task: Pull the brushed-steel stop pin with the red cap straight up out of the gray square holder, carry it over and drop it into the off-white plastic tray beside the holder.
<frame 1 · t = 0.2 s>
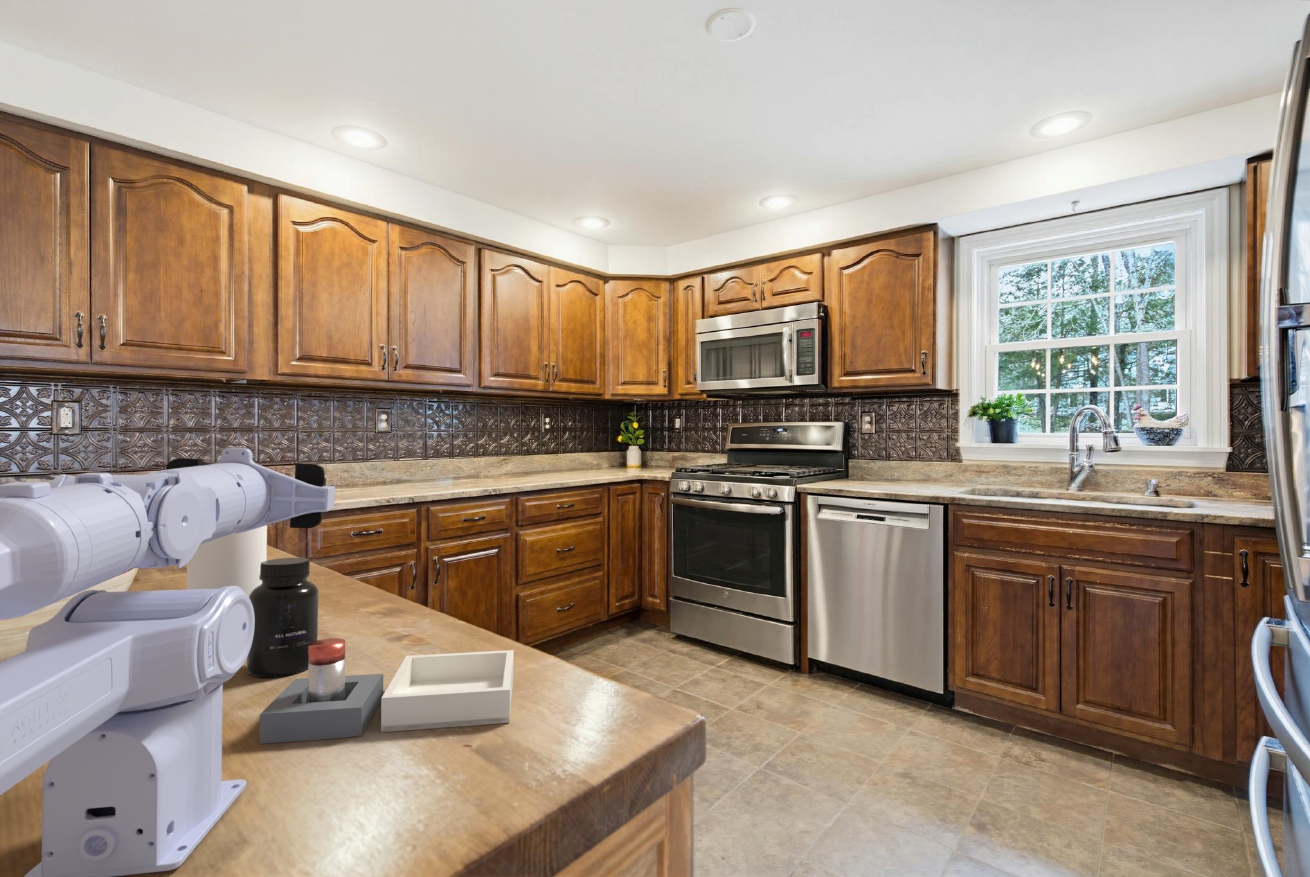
hand: (279, 486, 61), 21 cm above the countertop, tool horizontal, fingers open, 7 cm apart
pin tray: (454, 702, 62), on the countertop
cup: (227, 645, 79), on the countertop
stop pin: (326, 681, 58), in the gray square holder
supplement bottle: (283, 669, 71), on the countertop
gray square holder: (326, 719, 58), on the countertop
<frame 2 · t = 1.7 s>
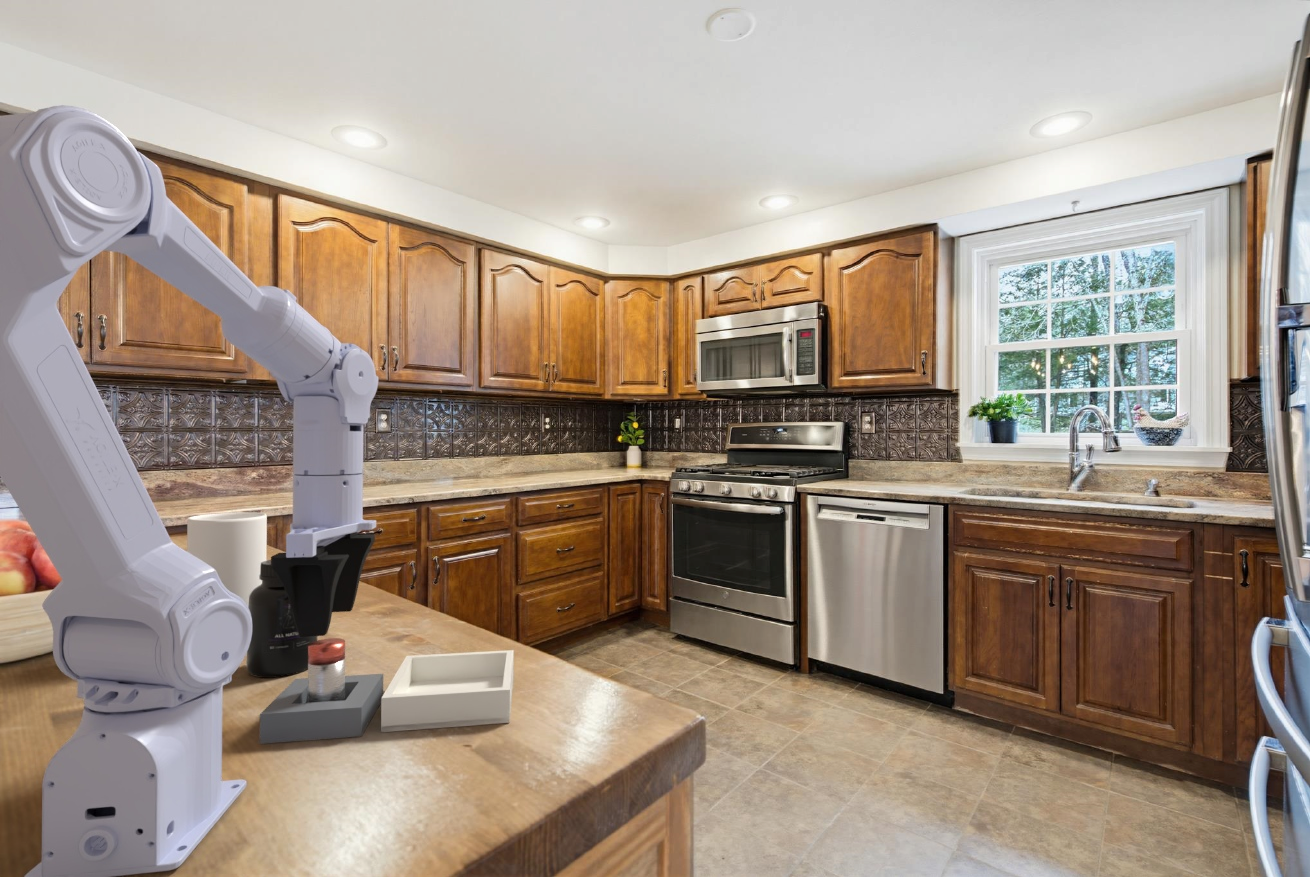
hand: (327, 622, 58), 9 cm above the countertop, tool pointing down, fingers open, 7 cm apart
nothing on the countertop moved.
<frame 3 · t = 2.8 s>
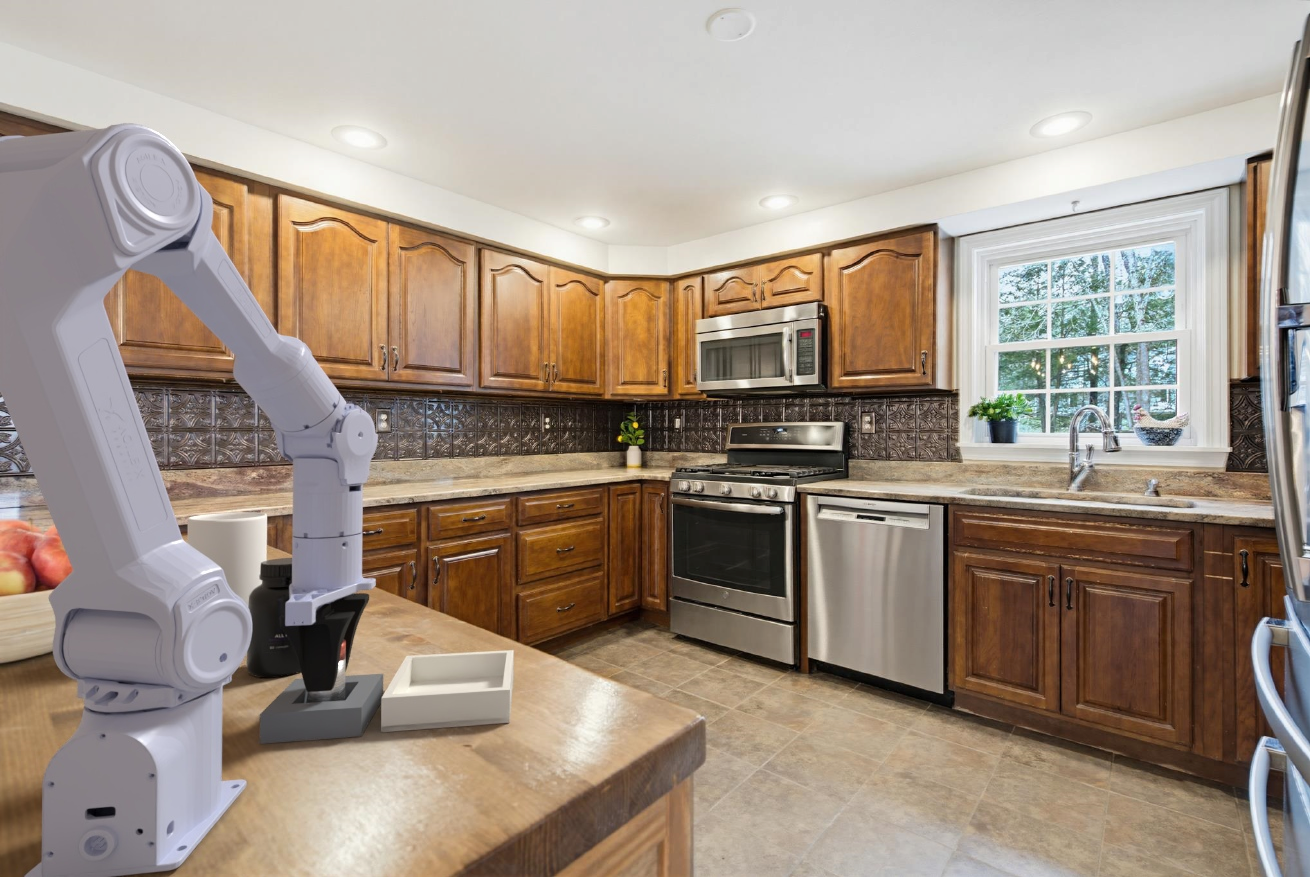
hand: (326, 682, 58), 3 cm above the countertop, tool pointing down, fingers closed on stop pin, 3 cm apart
stop pin: (327, 681, 58), in the gray square holder, touching gripper
everything else where it was.
when the fingers open (6 cm above the countertop, at t = 6.2 s): stop pin drops 2 cm, resting on pin tray.
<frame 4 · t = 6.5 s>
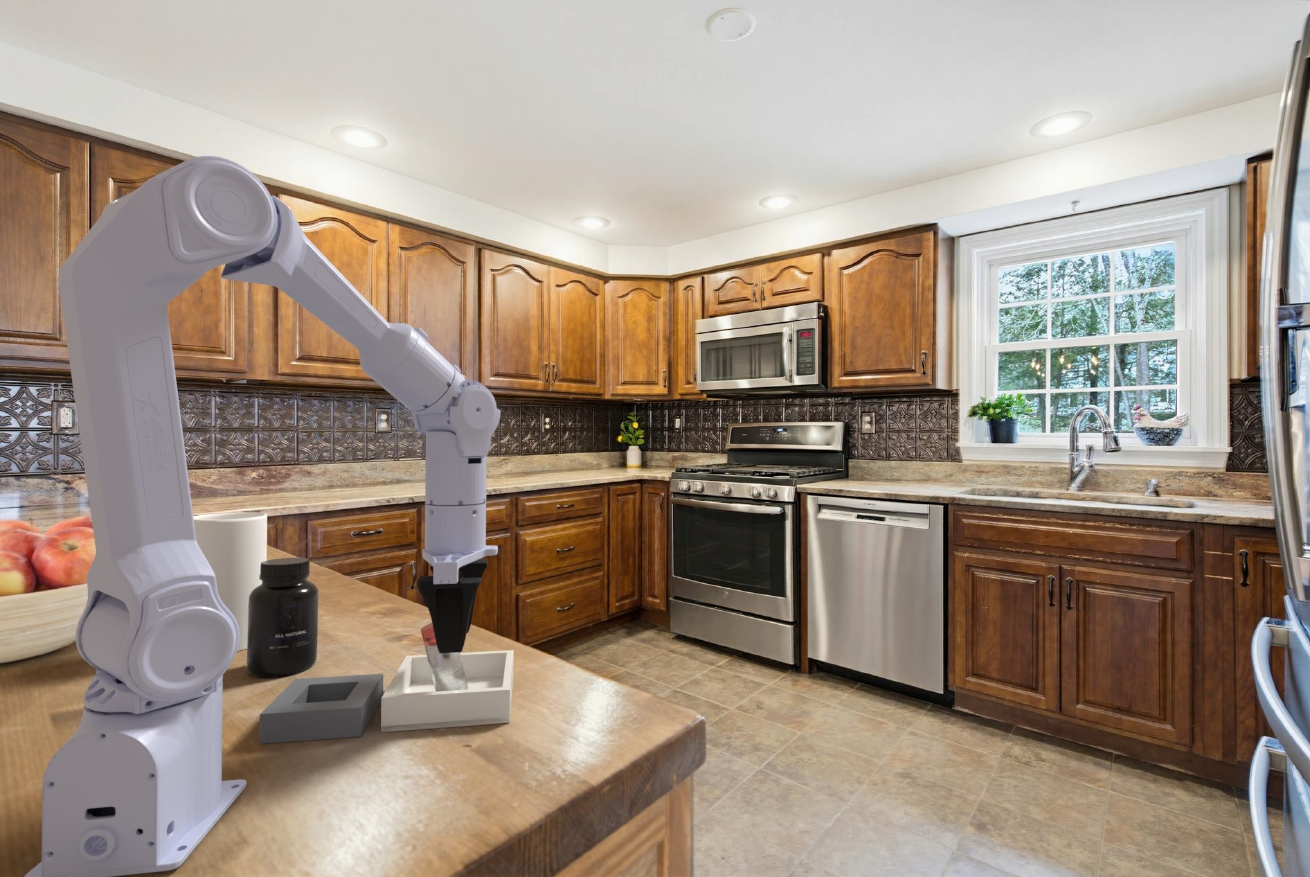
hand: (454, 641, 62), 6 cm above the countertop, tool pointing down, fingers open, 5 cm apart
stop pin: (444, 659, 62), in the pin tray, tilted 13°
everything else where it was.
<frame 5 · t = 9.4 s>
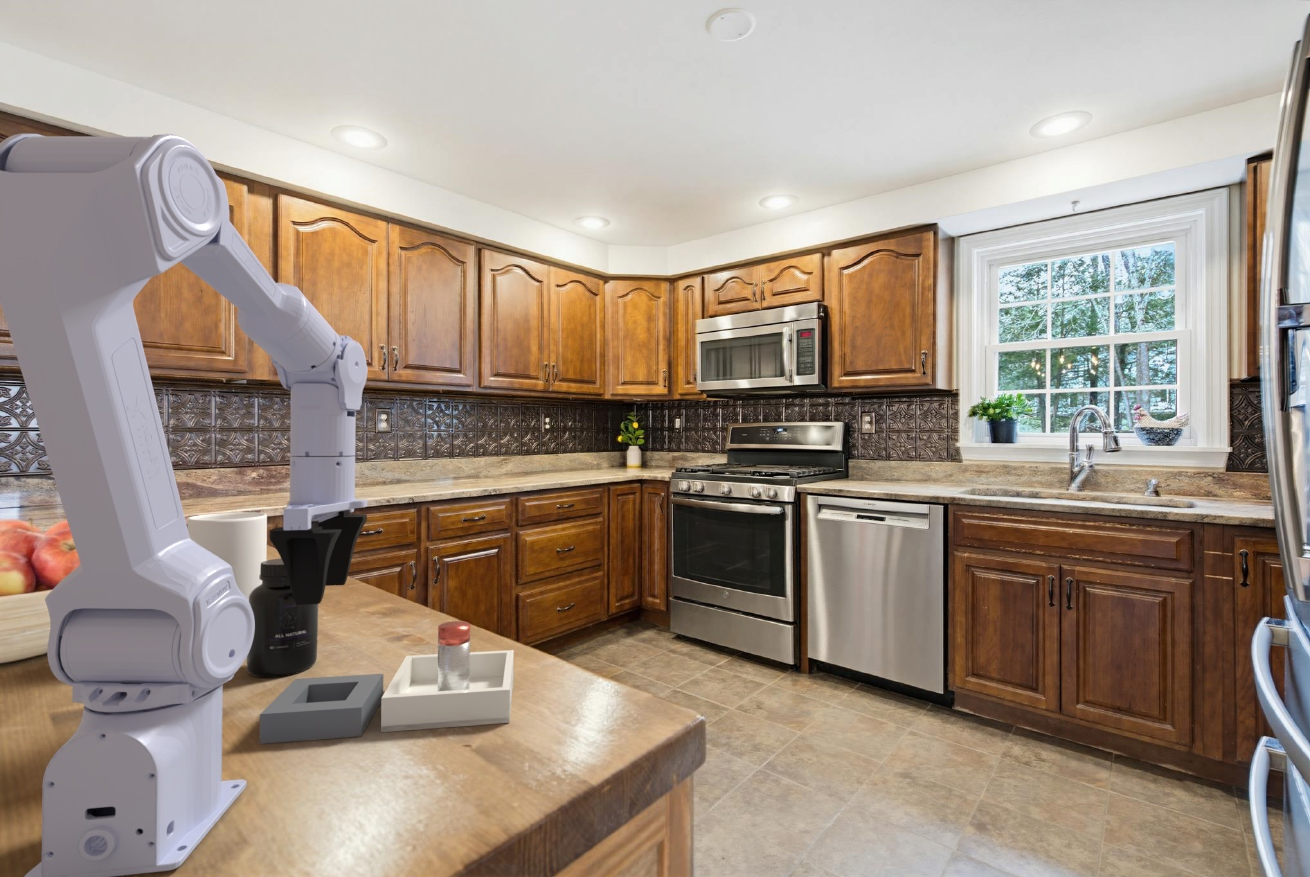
hand: (322, 593, 62), 10 cm above the countertop, tool pointing down, fingers open, 7 cm apart
stop pin: (453, 661, 62), in the pin tray
everything else where it was.
at the end: stop pin inside the target area on the pin tray (0.1 cm from its centre), point 4.0 cm above the pin tray's base; the gripper is holding nothing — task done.
